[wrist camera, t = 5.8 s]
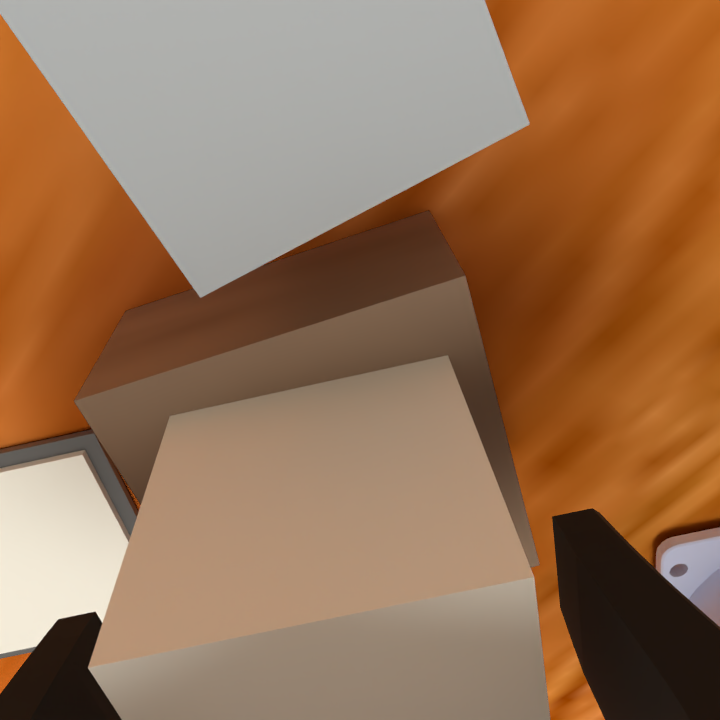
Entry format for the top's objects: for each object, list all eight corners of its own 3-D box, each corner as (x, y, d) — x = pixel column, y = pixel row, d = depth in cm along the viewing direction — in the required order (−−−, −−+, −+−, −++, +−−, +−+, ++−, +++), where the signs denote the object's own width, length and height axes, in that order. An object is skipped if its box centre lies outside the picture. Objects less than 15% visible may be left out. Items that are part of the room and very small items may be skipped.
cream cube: (481, 557, 14) (561, 816, 10) (250, 605, 14) (225, 878, 10) (448, 355, 11) (533, 576, 7) (169, 416, 12) (88, 668, 7)
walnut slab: (493, 451, 18) (539, 565, 14) (248, 524, 18) (234, 649, 15) (426, 206, 14) (465, 275, 11) (128, 305, 15) (74, 401, 11)
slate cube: (454, 80, 13) (529, 124, 8) (235, 201, 14) (200, 298, 9) (332, -219, 11) (349, -370, 6) (77, -52, 11) (-66, -81, 7)
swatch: (189, 613, 19) (187, 625, 19) (-32, 659, 20) (-38, 672, 19) (96, 428, 16) (91, 438, 16) (-169, 486, 16) (-179, 497, 16)
